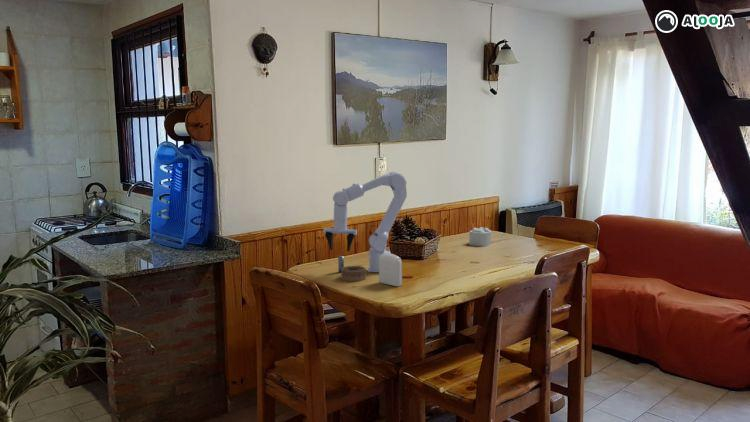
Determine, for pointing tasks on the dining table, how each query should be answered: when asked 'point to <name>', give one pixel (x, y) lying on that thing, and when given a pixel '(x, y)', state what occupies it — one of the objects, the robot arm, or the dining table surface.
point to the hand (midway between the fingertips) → (340, 250)
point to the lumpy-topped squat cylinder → (480, 237)
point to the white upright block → (390, 269)
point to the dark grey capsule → (340, 263)
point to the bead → (353, 273)
